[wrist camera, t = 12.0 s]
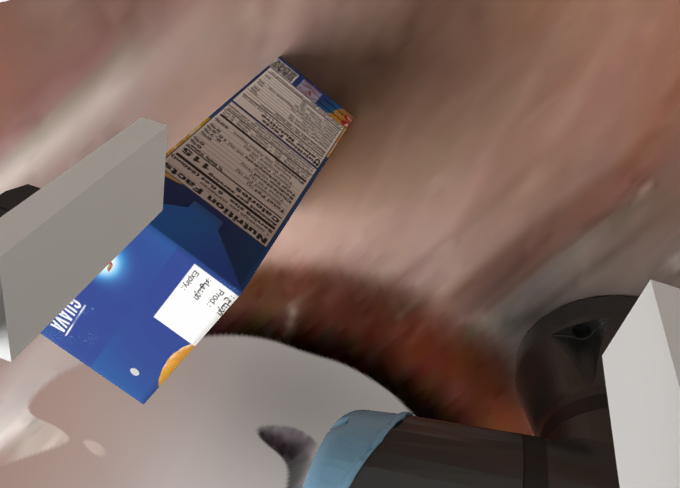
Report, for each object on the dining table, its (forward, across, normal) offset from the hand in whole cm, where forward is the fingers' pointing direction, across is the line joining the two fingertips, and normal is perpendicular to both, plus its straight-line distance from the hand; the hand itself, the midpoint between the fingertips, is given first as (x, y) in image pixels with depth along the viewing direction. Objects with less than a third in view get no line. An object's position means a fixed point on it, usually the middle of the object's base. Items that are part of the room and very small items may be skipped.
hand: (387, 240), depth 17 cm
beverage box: (+29, -11, -13) cm, 34 cm away
